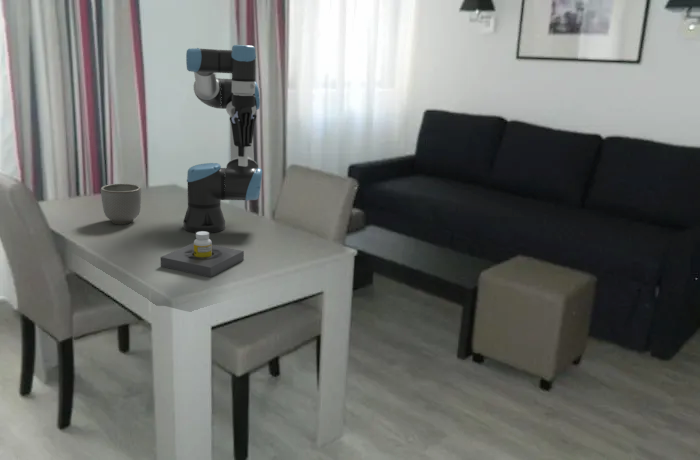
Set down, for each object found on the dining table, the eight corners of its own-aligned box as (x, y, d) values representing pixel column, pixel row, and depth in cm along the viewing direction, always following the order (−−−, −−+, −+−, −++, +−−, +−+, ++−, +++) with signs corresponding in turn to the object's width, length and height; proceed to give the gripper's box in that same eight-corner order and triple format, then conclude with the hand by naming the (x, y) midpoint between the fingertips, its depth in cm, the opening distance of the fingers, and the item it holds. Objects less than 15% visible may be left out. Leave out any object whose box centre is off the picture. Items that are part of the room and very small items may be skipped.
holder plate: (160, 266, 195) (160, 257, 194) (196, 250, 211) (196, 241, 210) (210, 277, 188) (210, 267, 187) (243, 259, 204) (243, 250, 204)
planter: (94, 223, 234) (92, 188, 230) (120, 214, 246) (119, 181, 242) (124, 229, 229) (123, 193, 225) (150, 220, 241) (149, 186, 238)
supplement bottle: (195, 260, 202) (195, 230, 199) (213, 260, 202) (212, 230, 200) (192, 265, 197) (192, 235, 194) (210, 266, 197) (210, 235, 194)
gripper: (242, 96, 202) (242, 170, 209) (263, 94, 214) (262, 164, 220) (222, 94, 205) (222, 167, 212) (244, 92, 216) (243, 161, 223)
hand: (243, 165), depth 216 cm, fingers closed
